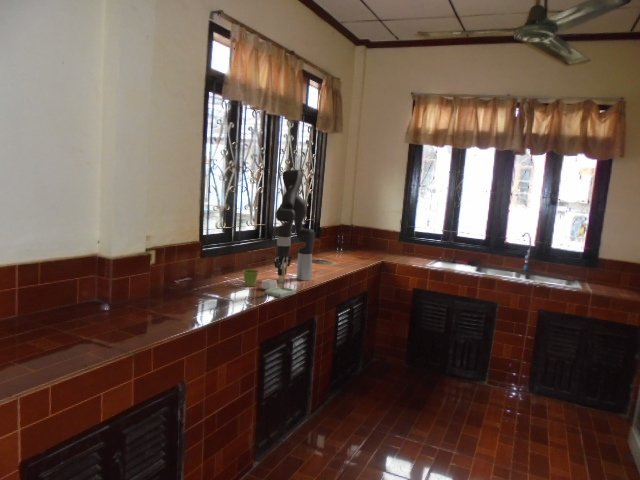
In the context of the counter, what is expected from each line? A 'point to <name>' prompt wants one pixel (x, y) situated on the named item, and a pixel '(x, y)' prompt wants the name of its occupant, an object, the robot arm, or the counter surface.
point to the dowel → (282, 276)
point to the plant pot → (250, 277)
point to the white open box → (269, 284)
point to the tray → (280, 292)
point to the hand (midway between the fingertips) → (281, 274)
